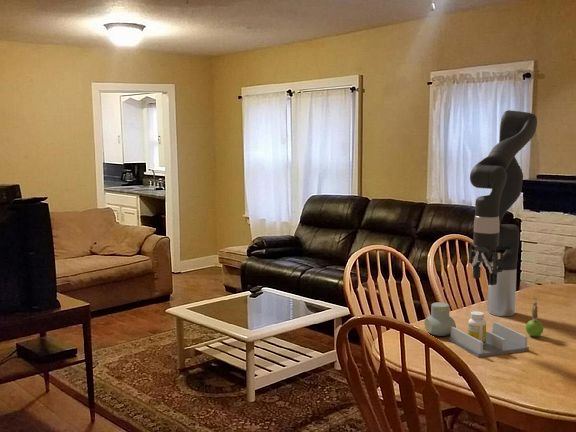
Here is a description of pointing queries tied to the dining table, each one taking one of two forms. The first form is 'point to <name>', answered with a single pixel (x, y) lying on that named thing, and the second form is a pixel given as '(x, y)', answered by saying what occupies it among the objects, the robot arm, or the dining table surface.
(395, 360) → the dining table surface
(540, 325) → the snail figurine
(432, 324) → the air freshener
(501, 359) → the dining table surface
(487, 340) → the gray divided storage rack
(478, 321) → the supplement bottle
